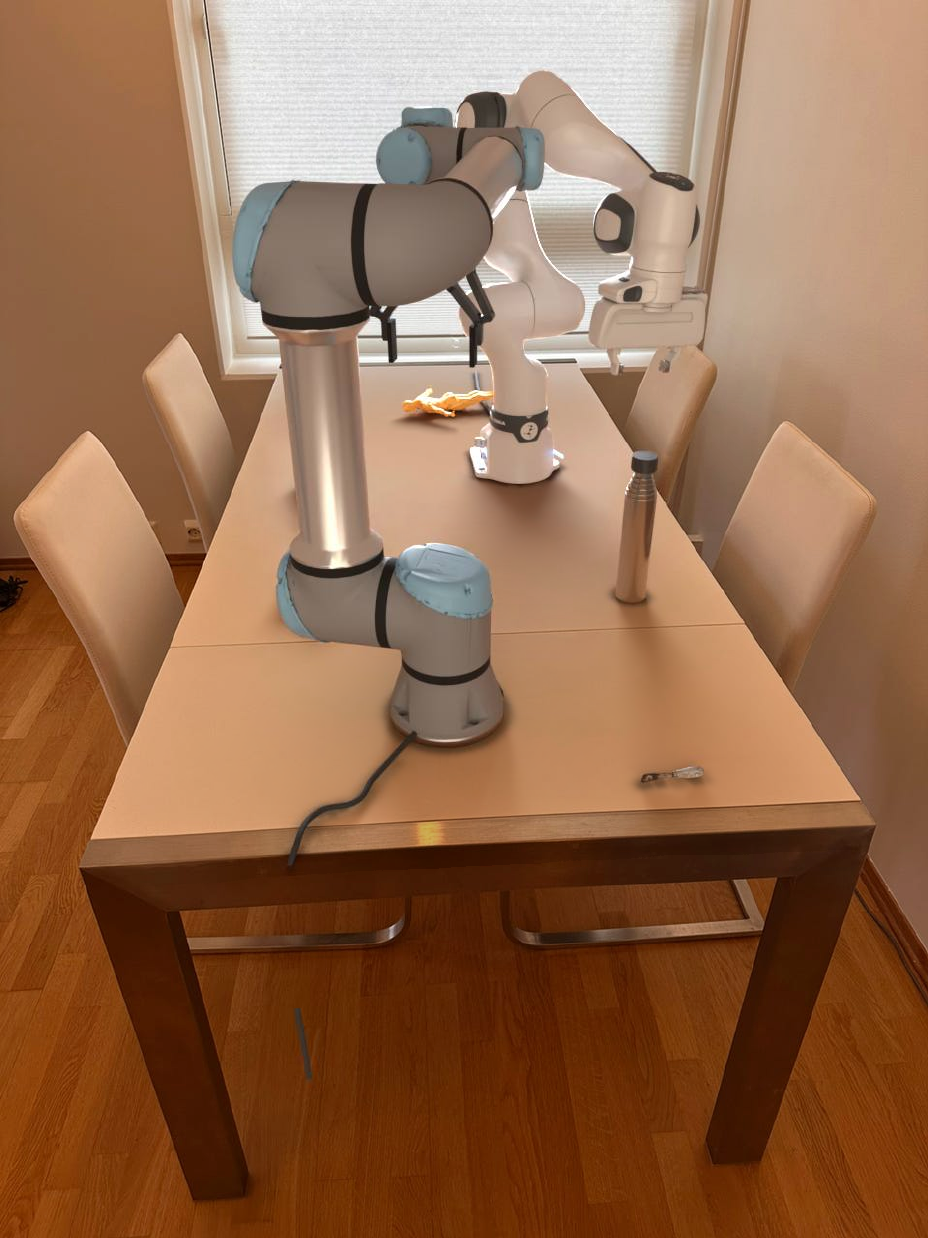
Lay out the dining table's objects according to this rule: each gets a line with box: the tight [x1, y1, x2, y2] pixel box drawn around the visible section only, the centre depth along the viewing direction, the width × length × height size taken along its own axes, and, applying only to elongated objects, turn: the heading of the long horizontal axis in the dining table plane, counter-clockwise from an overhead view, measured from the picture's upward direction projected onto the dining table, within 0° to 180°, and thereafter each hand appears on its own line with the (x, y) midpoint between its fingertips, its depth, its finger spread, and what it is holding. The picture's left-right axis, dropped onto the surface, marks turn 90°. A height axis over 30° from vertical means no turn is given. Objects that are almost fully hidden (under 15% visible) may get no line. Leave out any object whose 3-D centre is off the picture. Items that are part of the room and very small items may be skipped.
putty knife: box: [640, 765, 705, 784], centre depth 109 cm, size 1×8×2 cm, turn 103°
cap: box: [630, 450, 659, 474], centre depth 135 cm, size 4×4×2 cm
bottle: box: [614, 472, 658, 604], centre depth 141 cm, size 5×5×24 cm
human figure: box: [402, 385, 493, 418], centre depth 225 cm, size 20×20×4 cm
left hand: (432, 363), depth 147 cm, fingers open, 13 cm apart
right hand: (640, 372), depth 150 cm, fingers open, 8 cm apart
